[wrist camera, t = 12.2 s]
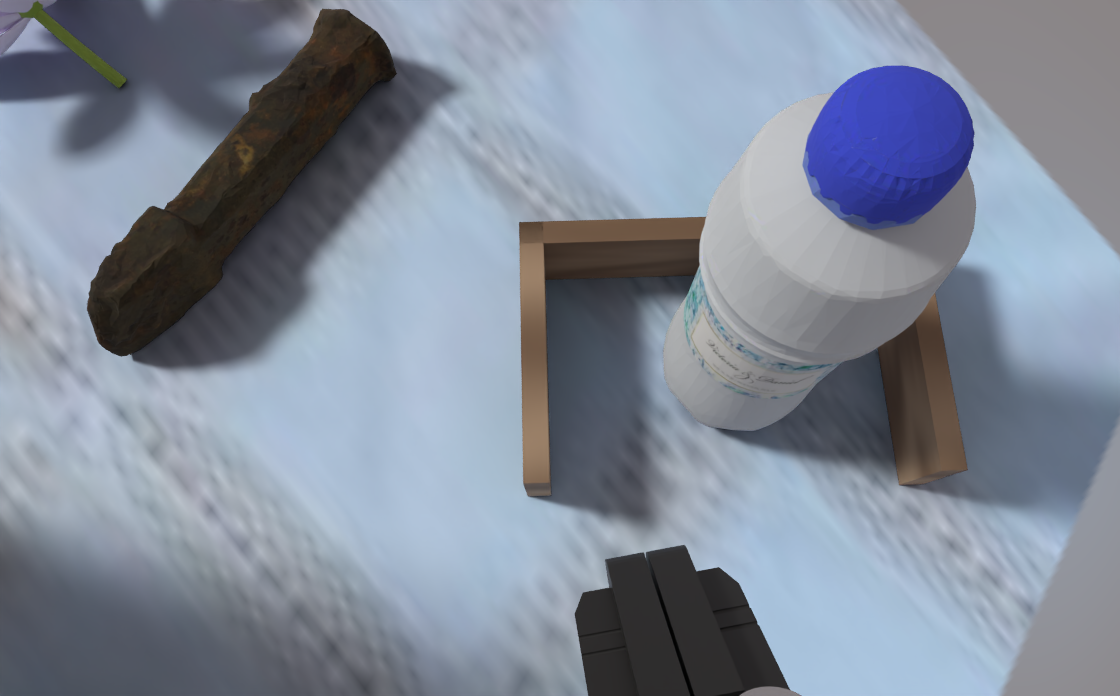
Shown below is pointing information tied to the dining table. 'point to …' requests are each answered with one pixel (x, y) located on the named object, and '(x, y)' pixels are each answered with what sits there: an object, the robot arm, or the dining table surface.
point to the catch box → (673, 250)
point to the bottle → (822, 244)
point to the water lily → (13, 3)
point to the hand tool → (234, 185)
